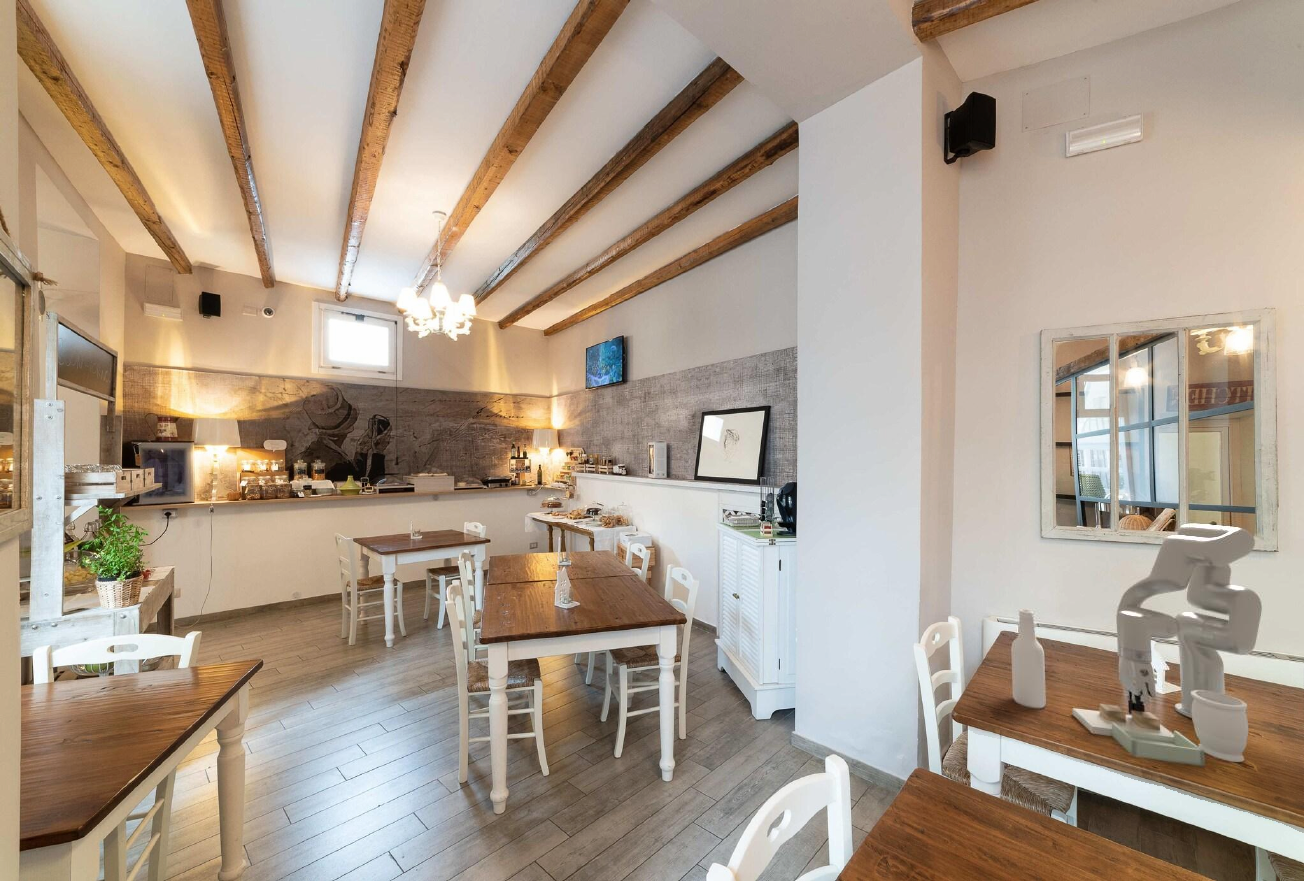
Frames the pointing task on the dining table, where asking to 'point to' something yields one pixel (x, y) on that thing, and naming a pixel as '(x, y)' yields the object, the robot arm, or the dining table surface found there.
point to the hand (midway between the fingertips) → (1136, 715)
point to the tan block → (1112, 713)
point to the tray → (1161, 748)
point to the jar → (1220, 724)
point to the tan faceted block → (1145, 720)
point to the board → (1104, 727)
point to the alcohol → (1028, 664)
